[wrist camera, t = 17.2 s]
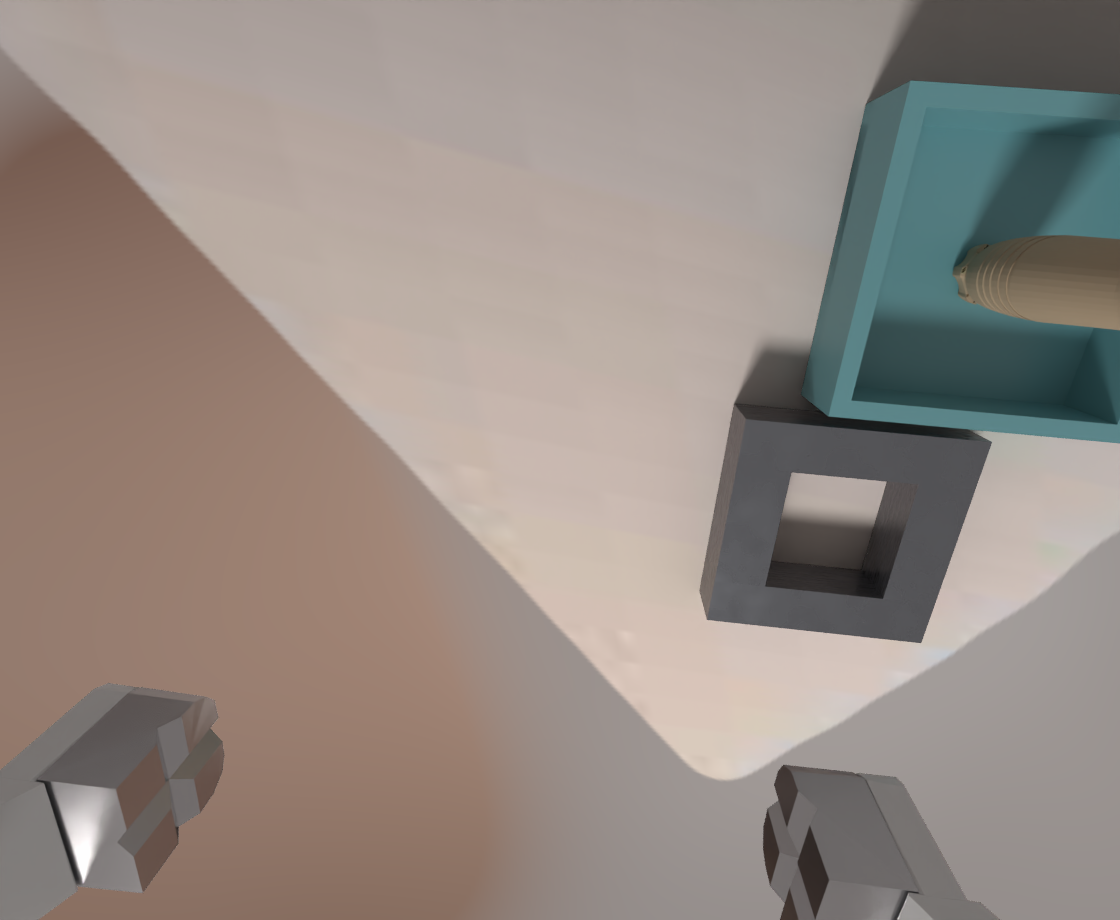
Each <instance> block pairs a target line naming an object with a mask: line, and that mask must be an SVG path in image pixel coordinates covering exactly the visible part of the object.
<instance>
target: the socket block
mask: <svg viewBox="0 0 1120 920" xmlns="http://www.w3.org/2000/svg"><path fill="white" fill-rule="evenodd" d="M991 443H992V442H991V441H989V440H987V439H985V438H983V437H981V436H979V435H977V434H975V433H974V432H972V431H970V430H968V429H959V428H949V427H938V426H927V425H916V424H905V423H895V422H884V421H873V420H862V419H851V418H840V417H830V416H827V415H826V414H825V413H824V412H818V411H807V410H796V409H785V408H774V407H763V406H752V405H742V404H734V407H733V413H732V418H731V423H730V429H729V434H728V440H727V445H726V450H725V456H724V461H723V467H722V472H721V477H720V483H719V488H718V494H717V499H716V504H715V510H714V515H713V521H712V526H711V531H710V537H709V542H708V548H707V553H706V558H705V564H704V569H703V575H702V580H701V585H700V595H701V598H702V602H703V606H704V610H705V614H706V618H707V620H714V621H723V622H732V623H741V624H750V625H760V626H769V627H778V628H787V629H796V630H806V631H815V632H824V633H833V634H843V635H852V636H861V637H870V638H879V639H889V640H898V641H907V642H916V643H921V642H922V639H923V636H924V634H925V631H926V628H927V625H928V622H929V619H930V616H931V614H932V611H933V608H934V605H935V602H936V599H937V597H938V594H939V591H940V588H941V585H942V582H943V580H944V577H945V574H946V571H947V568H948V565H949V563H950V560H951V557H952V554H953V551H954V548H955V546H956V543H957V540H958V537H959V534H960V531H961V529H962V526H963V523H964V520H965V517H966V514H967V511H968V509H969V506H970V503H971V500H972V497H973V494H974V492H975V489H976V486H977V483H978V480H979V477H980V475H981V472H982V469H983V466H984V463H985V460H986V458H987V455H988V452H989V449H990V446H991ZM791 472H795V473H805V474H815V475H826V476H836V477H846V478H857V479H867V480H877V481H887V484H886V488H885V491H884V495H883V498H882V501H881V505H880V508H879V512H878V515H877V518H876V522H875V525H874V529H873V532H872V535H871V539H870V542H869V546H868V549H867V552H866V556H865V559H864V563H863V566H862V569H861V570H851V569H842V568H832V567H823V566H813V565H803V564H794V563H784V562H774V561H771V559H772V554H773V550H774V545H775V541H776V537H777V532H778V528H779V524H780V519H781V515H782V511H783V506H784V502H785V498H786V493H787V489H788V485H789V480H790V476H791Z"/></svg>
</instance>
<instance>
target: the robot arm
mask: <svg viewBox="0 0 1120 920" xmlns="http://www.w3.org/2000/svg"><path fill="white" fill-rule="evenodd" d="M217 719H218V714H217V709H216V705H215V701H214V700H213V699H210V698H208V697H204V696H197V695H190V694H183V693H176V692H169V691H163V690H156V689H149V688H143V687H141V688H139V687H131V686H125V685H118V684H111V683H108V684H106V685H103V686H100V687H97V688H95V689H94V690H92V691H91V692H90V693H89V694H88V695H87V696H85V697H84V699H82V700H81V701H80V702H78V703H77V704H76V705H75V706H74V707H73V708H72V709H70V710H69V711H68V712H67V713H66V714H65V715H63V716H62V717H61V718H60V719H59V720H58V721H57V722H55V723H54V724H53V725H52V726H51V727H50V728H48V729H47V730H46V731H45V732H44V733H43V734H42V735H40V736H39V737H38V738H37V739H36V740H35V741H33V742H32V743H31V744H30V745H29V746H28V747H26V748H25V749H24V750H23V751H22V752H21V753H20V754H18V755H17V756H16V757H15V758H14V759H13V760H12V761H10V762H9V763H8V764H7V765H6V766H5V767H3V768H2V769H1V770H0V920H38V919H40V918H41V917H43V916H44V915H45V914H47V913H48V912H49V911H51V910H52V909H53V908H55V907H56V906H58V905H59V904H60V903H62V902H63V901H64V900H66V899H67V898H68V897H70V896H71V895H73V894H74V893H75V892H77V890H78V888H77V886H79V887H90V888H99V889H109V890H119V891H128V892H138V893H143V892H144V891H145V889H146V888H147V886H148V885H149V884H150V882H151V881H152V880H153V878H154V877H155V875H156V874H157V873H158V871H159V870H160V868H161V867H162V866H163V864H164V863H165V861H166V860H167V859H168V857H169V856H170V854H171V853H172V851H173V850H174V849H175V848H176V846H177V845H178V837H179V836H178V835H179V833H178V831H179V826H180V825H182V824H183V823H185V822H186V821H188V820H190V819H191V818H193V817H194V816H196V815H198V814H199V813H200V812H201V811H202V809H203V808H204V807H205V805H206V804H207V802H208V801H209V799H210V797H211V796H212V795H213V793H214V791H215V788H216V786H217V783H218V781H219V779H220V776H221V773H222V770H223V762H224V749H223V743H222V741H221V740H220V739H219V738H218V736H217V735H216V734H215V733H214V732H213V731H212V730H211V729H210V728H211V727H212V725H213V724H214V723H215V721H216V720H217ZM774 786H775V790H776V793H777V796H778V801H777V802H776V803H774V804H773V805H772V806H770V807H769V808H768V809H767V813H766V818H765V822H764V826H763V851H764V858H765V866H766V870H767V875H768V879H769V883H770V886H771V887H772V889H773V890H774V891H775V892H776V893H777V895H778V896H779V897H780V898H781V899H782V900H783V902H784V903H785V905H784V908H783V911H782V915H781V918H780V920H1000V919H999V918H998V917H996V916H995V915H994V914H993V913H992V912H991V911H990V910H988V909H987V908H986V907H985V906H984V905H983V904H981V903H980V902H975V901H969V900H967V898H966V896H965V895H964V893H963V891H962V889H961V887H960V886H959V884H958V882H957V880H956V878H955V877H954V875H953V873H952V871H951V869H950V867H949V866H948V864H947V862H946V860H945V858H944V857H943V855H942V853H941V851H940V849H939V848H938V846H937V844H936V842H935V840H934V838H933V837H932V835H931V833H930V831H929V830H928V828H927V826H926V824H925V822H924V821H923V819H922V817H921V815H920V813H919V812H918V810H917V808H916V806H915V804H914V802H913V801H912V799H911V797H910V795H909V793H908V792H907V790H906V788H905V786H904V784H903V783H902V782H901V781H899V780H898V779H897V778H896V777H890V776H881V775H872V774H863V773H857V774H855V773H853V772H846V771H836V770H827V769H818V768H807V767H799V766H790V765H783V766H782V767H781V768H780V770H779V771H778V773H777V777H776V780H775V783H774Z"/></svg>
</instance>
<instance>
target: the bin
mask: <svg viewBox="0 0 1120 920" xmlns="http://www.w3.org/2000/svg"><path fill="white" fill-rule="evenodd" d="M1046 235H1074V236H1086V237H1099V238H1112V239H1120V94H1105V93H1090V92H1075V91H1060V90H1045V89H1030V88H1015V87H1001V86H986V85H971V84H956V83H941V82H926V81H909V82H907V83H905V84H903V85H901V86H899V87H898V88H896V89H894V90H892V91H890V92H888V93H886V94H884V95H882V96H881V97H879V98H877V99H875V100H873V101H871V102H869V103H867V104H866V107H865V111H864V116H863V120H862V125H861V129H860V133H859V138H858V142H857V147H856V151H855V156H854V160H853V165H852V169H851V173H850V178H849V182H848V187H847V191H846V196H845V200H844V205H843V209H842V213H841V218H840V222H839V227H838V231H837V236H836V240H835V245H834V249H833V253H832V258H831V262H830V267H829V271H828V276H827V280H826V285H825V289H824V294H823V298H822V302H821V307H820V311H819V316H818V320H817V325H816V329H815V334H814V338H813V342H812V347H811V351H810V356H809V360H808V365H807V369H806V374H805V378H804V382H803V387H802V391H801V395H802V396H803V397H805V398H806V399H807V400H808V401H810V402H811V403H812V404H813V405H815V406H816V407H817V408H819V409H820V410H821V411H822V412H824V413H825V414H826V415H827V416H830V417H840V418H851V419H862V420H873V421H884V422H895V423H905V424H916V425H927V426H938V427H949V428H959V429H970V430H981V431H992V432H1003V433H1014V434H1024V435H1035V436H1046V437H1057V438H1068V439H1079V440H1089V441H1100V442H1111V443H1120V330H1113V329H1103V328H1094V327H1084V326H1074V325H1064V324H1053V323H1043V322H1036V321H1031V320H1026V319H1021V318H1016V317H1012V316H1008V315H1005V314H1002V313H998V312H995V311H993V310H990V309H987V308H985V307H983V306H981V305H979V304H976V305H975V304H972V303H969V302H966V301H965V300H963V299H961V298H960V297H959V296H958V291H959V286H958V282H957V280H956V278H955V277H954V276H953V275H952V274H953V270H954V267H955V266H958V265H959V264H960V263H961V262H962V261H963V260H964V259H965V258H966V256H967V252H968V251H969V249H971V248H973V247H975V246H978V245H981V244H988V245H993V244H995V243H998V242H1002V241H1005V240H1010V239H1015V238H1023V237H1032V236H1046Z"/></svg>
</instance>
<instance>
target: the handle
mask: <svg viewBox="0 0 1120 920" xmlns="http://www.w3.org/2000/svg"><path fill="white" fill-rule="evenodd" d="M952 275H953V276H954V277H955V278H956V280H957V282H958V286H959V291H958V296H959V297H960V298H961V299H963V300H965V301H966V302H969V303H972V304H975V305H976V304H979V305H981V306H983V307H985V308H987V309H990V310H993V311H995V312H998V313H1002V314H1005V315H1008V316H1012V317H1016V318H1021V319H1026V320H1031V321H1036V322H1043V323H1053V324H1064V325H1074V326H1084V327H1094V328H1103V329H1113V330H1120V239H1112V238H1099V237H1086V236H1074V235H1046V236H1032V237H1023V238H1015V239H1010V240H1005V241H1002V242H998V243H995V244H993V245H988V244H981V245H978V246H975V247H973V248H971V249H969V251H968V252H967V256H966V258H965V259H964V260H963V261H962V262H961V263H960V264H959V265H958V266H955V267H954V270H953V274H952Z"/></svg>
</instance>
